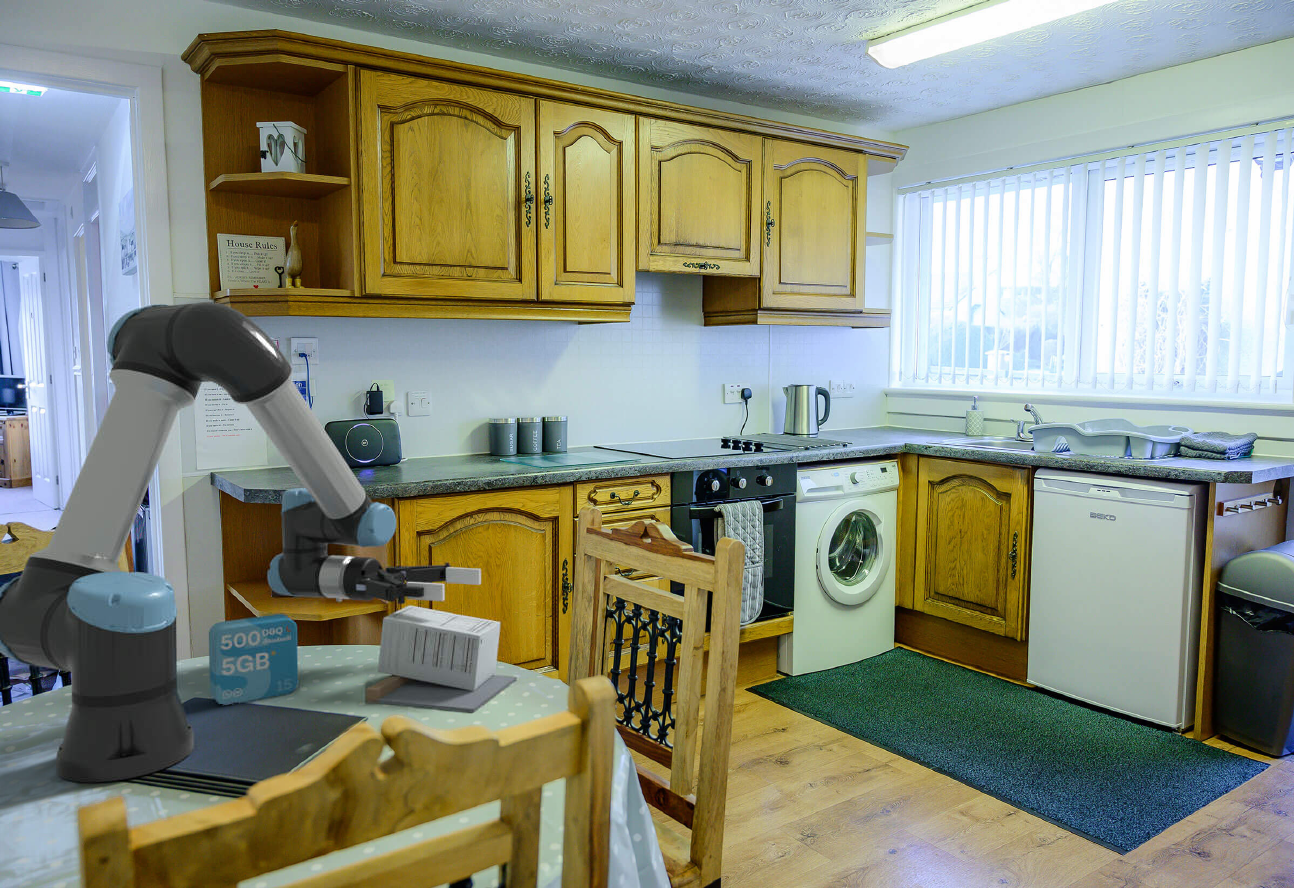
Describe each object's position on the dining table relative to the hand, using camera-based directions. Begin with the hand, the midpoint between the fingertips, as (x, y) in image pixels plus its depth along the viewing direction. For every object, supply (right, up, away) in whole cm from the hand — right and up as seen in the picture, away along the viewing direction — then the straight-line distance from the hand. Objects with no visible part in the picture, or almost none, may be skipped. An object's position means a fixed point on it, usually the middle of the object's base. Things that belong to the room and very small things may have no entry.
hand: (462, 584), depth 149 cm
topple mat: (-1, -15, -10) cm, 18 cm away
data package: (-30, -16, -12) cm, 36 cm away
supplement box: (-11, -8, -4) cm, 14 cm away
